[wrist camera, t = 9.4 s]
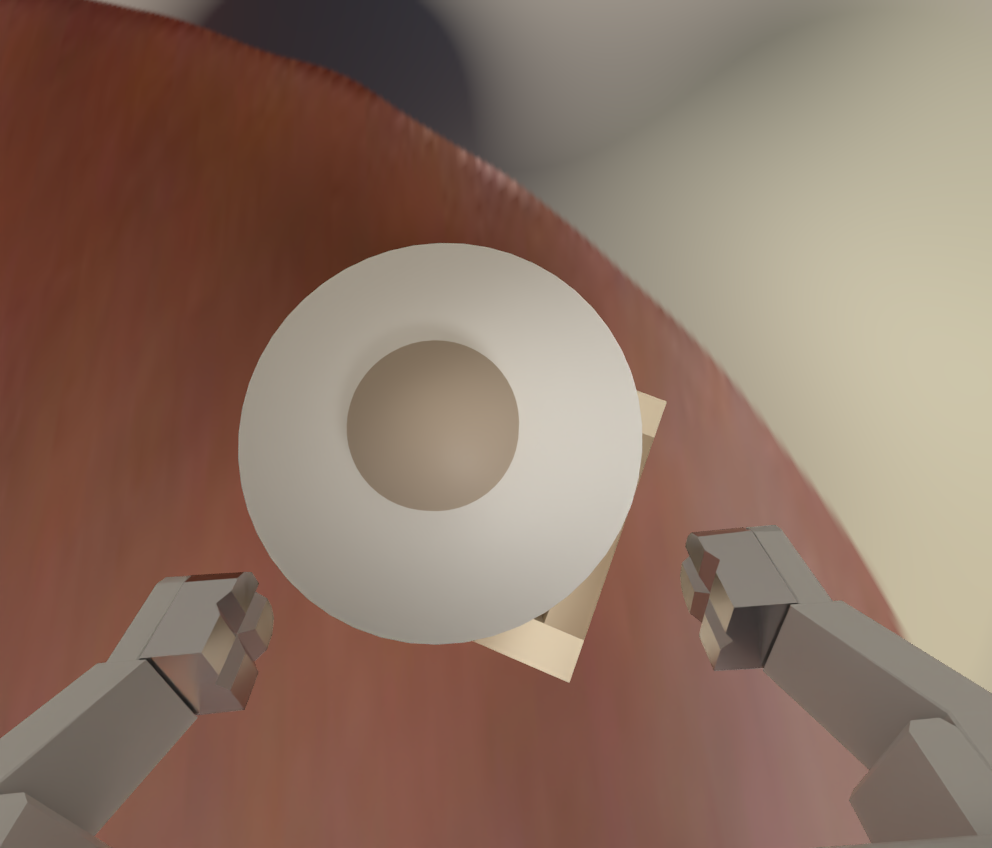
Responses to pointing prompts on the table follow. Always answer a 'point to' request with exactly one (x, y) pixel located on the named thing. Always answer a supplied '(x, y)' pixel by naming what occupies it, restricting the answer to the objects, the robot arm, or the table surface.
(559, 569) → the paper roll
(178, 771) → the table surface
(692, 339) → the table surface
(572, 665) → the open wooden box
